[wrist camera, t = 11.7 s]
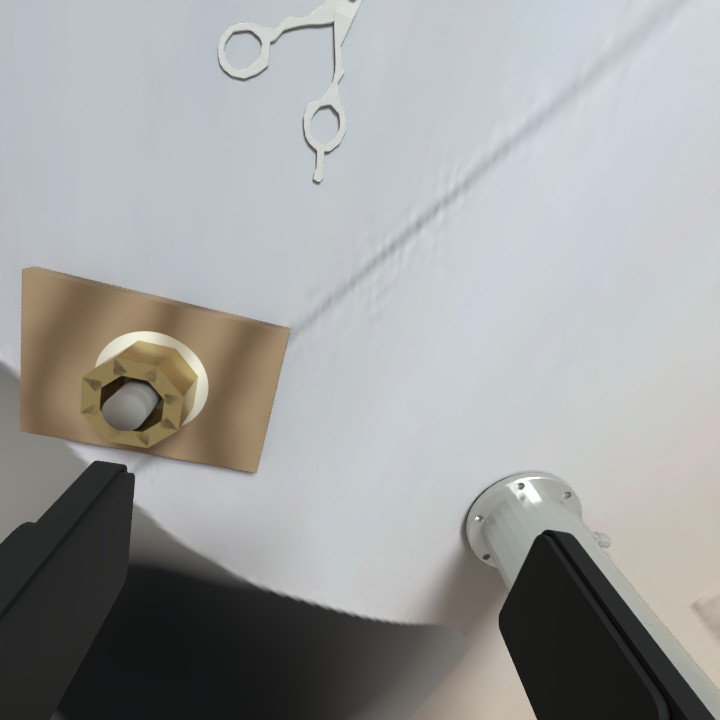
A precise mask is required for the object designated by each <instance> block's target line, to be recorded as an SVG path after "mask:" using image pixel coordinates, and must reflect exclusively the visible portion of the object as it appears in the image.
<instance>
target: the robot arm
mask: <svg viewBox="0 0 720 720" xmlns="http://www.w3.org/2000/svg"><path fill="white" fill-rule="evenodd" d="M134 484H135V475H134V474H133V473H128V472H127V467H126V465H123V464H117V463H110V462H104V461H94V462H93V463H92V464H91V465H90V466H89V467H88V468H87V469H86V470H85V471H84V472H83V473H82V474H81V476H79V477H78V479H77V480H76V481H75V482H74V483H73V484H72V485H71V486H70V487H69V488H68V489H67V490H66V491H65V492H64V493H63V494H62V495H61V496H60V498H59V499H58V500H57V501H56V502H55V503H54V504H53V505H52V506H51V507H50V508H49V509H48V510H47V511H46V512H45V513H44V515H43V516H42V517H41V518H40V519H39V520H38V521H37V522H36V523H32V522H26V523H24V524H22V525H20V526H19V527H18V528H17V529H15V530H14V531H13V532H12V533H11V534H10V535H9V536H8V537H7V538H6V539H5V540H4V541H3V542H2V543H1V544H0V720H50V718H51V717H52V714H53V713H54V711H55V709H56V707H57V706H58V704H59V702H60V700H61V698H62V696H63V695H64V693H65V691H66V689H67V687H68V685H69V684H70V682H71V680H72V678H73V676H74V675H75V673H76V671H77V669H78V667H79V665H80V663H81V662H82V660H83V658H84V656H85V654H86V653H87V651H88V649H89V647H90V645H91V644H92V642H93V640H94V638H95V636H96V634H97V633H98V631H99V629H100V627H101V625H102V624H103V622H104V620H105V618H106V616H107V614H108V613H109V611H110V609H111V607H112V605H113V603H114V602H115V600H116V598H117V596H118V594H119V592H120V590H121V589H122V586H123V584H124V581H125V578H126V575H127V569H128V558H129V545H130V533H131V519H132V509H133V497H134ZM466 534H467V539H468V542H469V544H470V546H471V549H472V550H473V552H474V553H475V555H476V556H477V557H478V558H479V559H480V560H481V561H482V562H484V563H485V564H487V565H489V566H491V567H494V568H497V569H498V571H499V573H500V576H501V578H502V580H503V582H504V584H505V586H506V588H507V590H508V592H509V595H508V597H507V599H506V601H505V603H504V605H503V607H502V609H501V612H500V614H499V628H500V631H501V634H502V636H503V639H504V641H505V644H506V646H507V648H508V651H509V653H510V656H511V658H512V660H513V663H514V665H515V668H516V670H517V672H518V675H519V677H520V680H521V682H522V684H523V687H524V689H525V692H526V694H527V696H528V699H529V701H530V704H531V706H532V708H533V711H534V713H535V716H536V718H537V720H720V690H719V688H718V687H717V686H716V685H715V684H714V683H713V682H712V680H711V679H710V678H709V677H708V676H707V675H706V674H705V672H704V671H703V670H702V669H701V668H700V667H699V665H698V664H697V663H696V662H695V661H694V659H693V658H692V657H691V656H690V655H689V653H688V652H687V651H686V650H685V649H684V647H683V646H682V645H681V644H680V642H679V641H678V640H677V639H676V638H675V636H674V635H673V634H672V633H671V632H670V631H669V629H668V628H667V627H666V626H665V625H664V623H663V622H662V621H661V620H660V619H659V617H658V616H657V615H656V614H655V612H654V611H653V610H652V609H651V608H650V606H649V605H648V604H647V603H646V602H645V600H644V599H643V598H642V597H641V595H640V594H639V593H638V592H637V591H636V589H635V588H634V587H633V586H632V585H631V583H630V582H629V581H628V580H627V578H626V577H625V576H624V575H623V574H622V572H621V571H620V570H619V569H618V568H617V566H616V565H615V564H614V563H613V561H612V560H611V557H610V556H609V554H608V553H607V552H606V551H603V549H602V548H601V547H603V548H608V547H609V546H610V544H611V541H610V538H609V536H608V535H606V534H602V533H596V532H595V533H593V532H592V531H591V530H590V529H589V528H588V526H587V525H586V524H585V523H584V522H583V520H582V506H581V503H580V500H579V498H578V496H577V495H576V493H575V492H574V491H573V489H572V488H571V487H570V486H569V485H568V484H567V483H566V482H564V481H563V480H561V479H560V478H558V477H555V476H553V475H550V474H545V473H534V472H530V473H523V474H517V475H514V476H511V477H508V478H506V479H504V480H501V481H499V482H497V483H496V484H494V485H493V486H491V487H490V488H488V489H487V490H486V491H485V492H484V493H483V494H482V495H481V496H480V497H479V498H478V499H477V501H476V502H475V503H474V505H473V506H472V508H471V510H470V512H469V515H468V518H467V522H466Z"/></svg>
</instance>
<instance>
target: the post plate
mask: <svg viewBox="0 0 720 720" xmlns="http://www.w3.org/2000/svg"><path fill="white" fill-rule="evenodd" d="M289 333H290V328H286V327H282V326H278V325H274V324H270V323H266V322H262V321H258V320H253V319H249V318H245V317H241V316H237V315H233V314H229V313H225V312H220V311H216V310H212V309H208V308H204V307H200V306H196V305H192V304H188V303H183V302H179V301H175V300H171V299H167V298H163V297H159V296H155V295H150V294H146V293H142V292H138V291H134V290H130V289H126V288H122V287H117V286H113V285H109V284H105V283H101V282H97V281H93V280H89V279H84V278H80V277H76V276H72V275H68V274H64V273H60V272H56V271H51V270H47V269H43V268H39V267H31V268H26V269H22V315H21V394H20V395H21V396H20V397H21V399H20V431H23V432H28V433H34V434H40V435H45V436H51V437H57V438H62V439H68V440H73V441H79V442H85V443H90V444H96V445H102V446H107V447H113V448H119V449H124V450H130V451H136V452H141V453H147V454H153V455H158V456H164V457H170V458H175V459H181V460H187V461H192V462H198V463H203V464H209V465H215V466H220V467H226V468H232V469H237V470H243V471H249V472H254V473H257V469H258V465H259V461H260V456H261V452H262V448H263V444H264V439H265V435H266V431H267V427H268V422H269V418H270V414H271V409H272V405H273V401H274V397H275V392H276V388H277V384H278V380H279V375H280V371H281V367H282V363H283V358H284V354H285V350H286V345H287V341H288V337H289ZM138 340H139V341H143V342H148V343H153V344H157V345H162V346H167V347H171V348H176V349H177V351H178V352H179V353H180V354H181V356H182V357H183V358H184V359H185V361H186V362H187V363H188V364H189V366H190V367H191V368H192V369H193V370H194V372H195V373H196V374H197V375H198V381H197V388H196V394H195V401H194V407H193V408H192V410H191V412H190V413H189V415H188V416H187V418H186V419H185V421H184V422H183V424H182V426H181V427H180V429H179V430H178V431H176V432H175V433H173V434H171V435H170V436H168V437H166V438H164V439H163V440H161V441H159V442H157V443H156V444H154V445H152V446H150V447H149V448H145V447H139V446H133V445H127V444H121V443H115V442H110V441H107V440H106V439H105V438H104V437H103V436H102V435H101V434H100V432H99V431H98V430H97V429H96V428H95V427H94V426H93V425H92V424H91V423H90V422H89V421H88V420H87V419H86V418H85V417H84V416H83V415H82V414H81V413H80V408H81V389H82V377H83V376H85V375H86V374H88V373H89V372H90V371H92V370H93V369H95V368H96V367H97V366H99V365H100V364H102V363H103V362H105V361H106V360H107V359H109V358H110V357H112V356H114V355H115V354H117V353H118V352H120V351H122V350H123V349H125V348H127V347H128V346H130V345H132V344H133V343H135V342H136V341H138ZM163 406H164V399H163V398H162V397H161V396H160V394H159V393H158V392H157V391H156V390H155V389H154V387H153V386H152V385H151V384H150V383H149V382H148V381H146V380H141V379H136V378H131V377H126V376H125V381H124V386H123V387H121V388H120V389H119V390H118V391H117V392H116V393H115V394H114V395H113V396H111V397H110V398H109V399H108V400H107V401H106V402H105V403H104V405H103V408H102V415H103V417H104V419H105V421H106V422H107V423H108V424H109V425H110V426H111V427H113V428H115V429H117V430H121V431H131V430H134V429H136V428H138V427H139V426H140V425H141V424H142V423H143V422H144V420H145V419H146V418H147V417H148V416H149V414H150V413H151V412H152V411H153V410H154V408H155V407H157V408H163Z"/></svg>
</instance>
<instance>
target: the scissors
mask: <svg viewBox="0 0 720 720" xmlns="http://www.w3.org/2000/svg"><path fill="white" fill-rule="evenodd" d="M362 1H363V0H327V1H325V2H324V3H323V4H322V5H321V6H319V7H318V8H317V9H315V10H314V11H312V12H311V13H310V14H309V15H308V16H307V17H302V18H294V17H290V16H288V17H287V18H286V19H285V20H284V21H283V22H282V23H281V24H280V25H279V26H278V27H277V28H276V29H273V28H267V27H263V26H259V25H257V24H255V23H250V22H246V23H239V24H234V25H233V26H231V27H229V28H228V29H227V30H226V31H225V32H224V34H223V35H222V37H221V38H220V41H219V44H218V57H219V61H220V64H221V66H222V67H223V69H224V70H225V71H226V72H227V73H229V74H230V75H231V76H232V77H237V78H242V79H246V78H249V77H252V76H254V75H257V74H259V73H260V72H261V71H263V70H264V69H265V68H267V67H268V63H269V53H270V44H271V42H274V41H276V40H277V39H278V38H279V36H280V35H281V34H282V33H283V32H284V31H286V30H290V29H293V28H297V27H302V26H308V25H319V26H320V25H326V24H332V23H333V22H334V34H335V74H334V79H333V82H332V84H331V86H330V87H329V89H328V90H327V92H326V94H325V95H324V96H323V97H322V98H320V99H318V100H315V101H312V102H309V103H308V105H307V108H306V111H305V114H304V129H305V135H306V138H307V140H308V142H309V144H310V145H311V146H312V147H314V148H315V149H316V150H317V168H316V170H315V173H314V178H313V179H314V180H316V181H317V182H321V180H322V179H323V174H322V166H323V161H324V151H326V152H330V151H331V150H333V149H334V148H335V147H336V146H337V145H339V144H340V142H341V140H342V138H343V136H344V135H345V133H346V115H345V111H344V108H343V106H342V104H341V102H340V101H339V96H338V83H339V81H340V79H341V78H342V76H343V74H344V70H343V66H342V63H341V50H340V47H341V45H342V43H343V41H344V39H345V37H346V35H347V33H348V31H349V28H350V26H351V24H352V22H353V19H354V17H355V15H356V13H357V11H358V8H359V6H360V4H361V2H362ZM240 31H252V32H253V33H254V34H255V35H257V36H258V37H259V38H260V39H261V42H262V48H261V55H260V57H259V58H258V59H257V60H256V61H255V62H254V63H253V64H252V65H251V66H250V67H249V68H245V69H241V70H235V69H234V68H233V67H232V66H231V65H230V64H229V63H228V62H227V60H226V58H225V54H224V51H225V44H226V43H227V41H228V39H229V38H230V37H231V35H232V34H233V33H234V32H240ZM328 105H331V106H332V107H333V108H334V109H335V111H336V112H337V113H338V114H339V118H340V128H339V131H338V133H337V135H336V136H335V138H334V139H333V140H332V141H331V142H330V143H326V144H322V143H318V142H317V141H316V140H315V139H314V138H313V137H312V135H311V132H310V123H311V120H312V118H313V116H314V114H315V112H316V111H317V110H318V109H319V108H320V107H322V106H328Z"/></svg>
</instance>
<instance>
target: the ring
mask: <svg viewBox="0 0 720 720" xmlns="http://www.w3.org/2000/svg"><path fill="white" fill-rule="evenodd" d="M125 376H126V377H131V378H136V379H141V380H146V381H148V382H149V383H150V384H151V385H152V386H153V387H154V389H155V390H156V391H157V392H158V393H159V394H160V396H161V397H162V398H163V399H164V406H163V408H157V407H155V408H154V410H153V411H152V412H151V413H150V414H149V416H148V417H147V418H146V419H145V420H144V422H143V423H142V424H141V425H140V426H139V427H138V428H136V429H134V430H131V431H121V430H117V429H115V428H113V427H111V426H110V425H109V424H108V423H107V422H106V421H105V419H104V417H103V415H102V408H103V405H104V403H105V402H106V401H107V400H108V399H109V398H110V397H111V396H113V395H114V394H115V393H116V392H117V391H118V390H119V389H120V388H121V387H123V386H124V381H125ZM197 381H198V375H197V374H196V373H195V372H194V370H193V369H192V368H191V367H190V366H189V364H188V363H187V362H186V361H185V359H184V358H183V357H182V356H181V354H180V353H179V352H178V351H177V349H176V348H171V347H167V346H162V345H157V344H153V343H148V342H143V341H139V340H138V341H136V342H135V343H133V344H132V345H130V346H128V347H127V348H125V349H123V350H122V351H120V352H118V353H117V354H115V355H114V356H112V357H110V358H109V359H107V360H106V361H105V362H103V363H102V364H100V365H99V366H97V367H96V368H95V369H93V370H92V371H90V372H89V373H88V374H86V375H85V376H83V377H82V389H81V408H80V413H81V414H82V415H83V416H84V417H85V418H86V419H87V420H88V421H89V422H90V423H91V424H92V425H93V426H94V427H95V428H96V429H97V430H98V431H99V432H100V434H101V435H102V436H103V437H104V438H105V439H106V440H107V441H110V442H115V443H121V444H127V445H133V446H139V447H145V448H149V447H150V446H152V445H154V444H156V443H157V442H159V441H161V440H163V439H164V438H166V437H168V436H170V435H171V434H173V433H175V432H176V431H178V430H179V429H180V427H181V426H182V424H183V422H184V421H185V419H186V418H187V416H188V415H189V413H190V412H191V410H192V408H193V407H194V401H195V394H196V388H197Z"/></svg>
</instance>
